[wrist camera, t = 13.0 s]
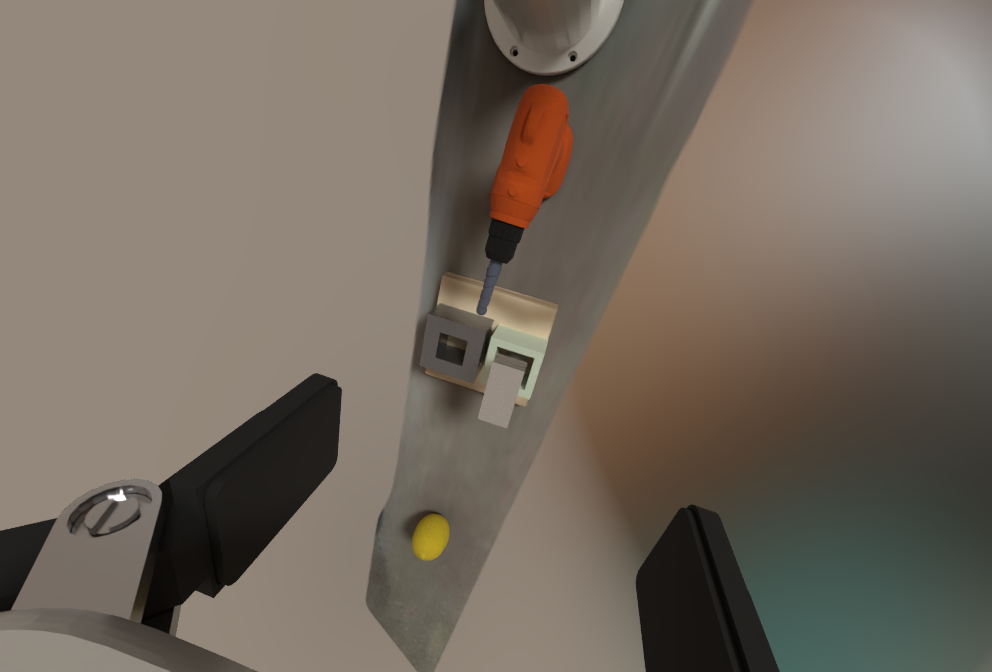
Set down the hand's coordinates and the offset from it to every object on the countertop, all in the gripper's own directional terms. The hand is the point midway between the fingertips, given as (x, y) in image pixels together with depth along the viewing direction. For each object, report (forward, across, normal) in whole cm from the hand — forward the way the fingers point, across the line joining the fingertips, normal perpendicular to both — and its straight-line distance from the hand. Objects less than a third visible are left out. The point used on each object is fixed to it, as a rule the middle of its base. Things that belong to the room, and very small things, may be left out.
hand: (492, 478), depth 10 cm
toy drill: (+36, +5, -3) cm, 37 cm away
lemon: (+36, +6, +49) cm, 60 cm away
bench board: (+36, +6, +14) cm, 39 cm away
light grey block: (+34, +2, +14) cm, 37 cm away
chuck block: (+34, +9, +14) cm, 38 cm away
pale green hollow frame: (+34, +2, +14) cm, 37 cm away
